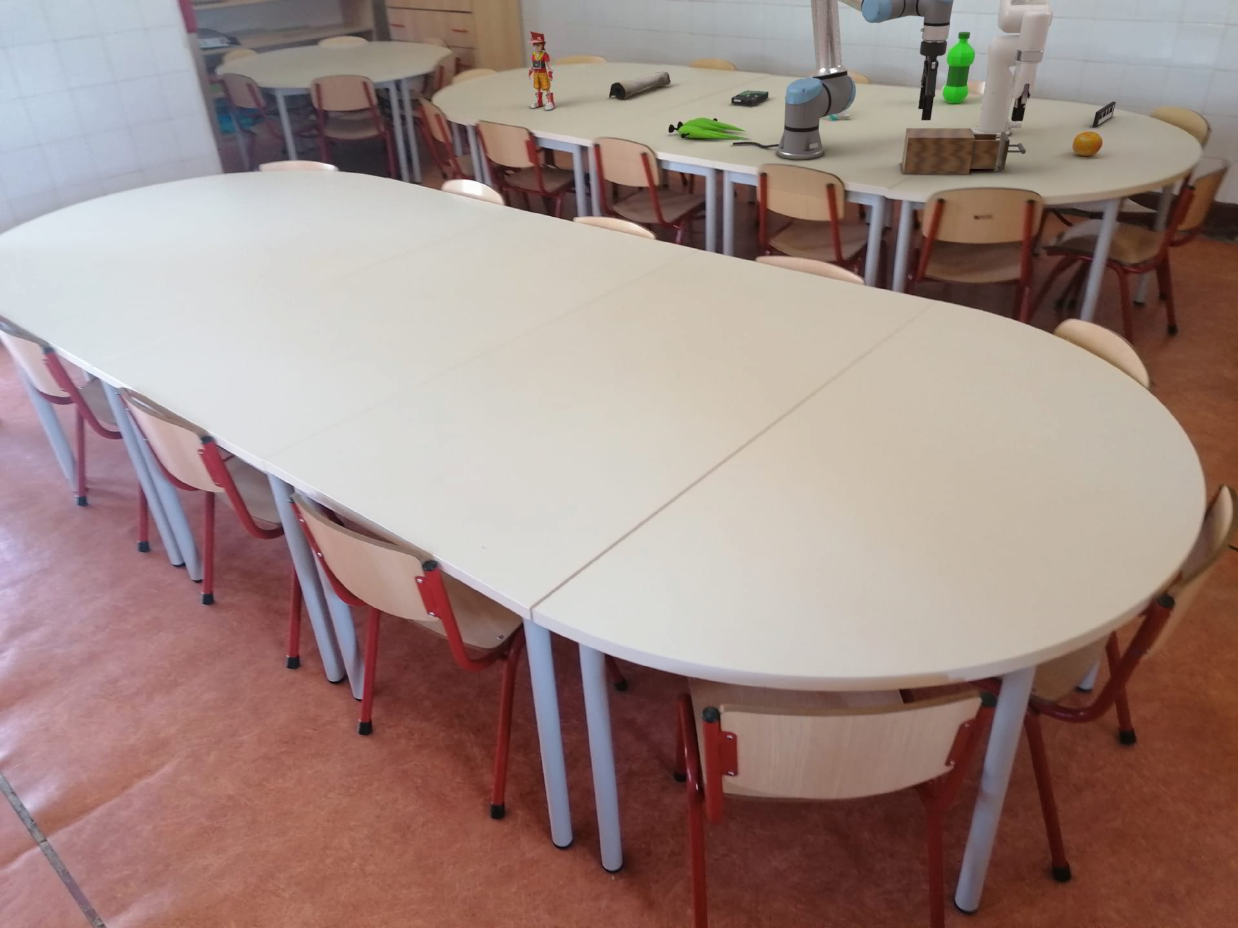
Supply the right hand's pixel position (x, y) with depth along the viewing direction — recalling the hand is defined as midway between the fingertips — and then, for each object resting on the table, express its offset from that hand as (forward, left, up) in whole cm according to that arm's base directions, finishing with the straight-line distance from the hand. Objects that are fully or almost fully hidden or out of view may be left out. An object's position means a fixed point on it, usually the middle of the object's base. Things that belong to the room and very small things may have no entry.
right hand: (1016, 120), depth 275 cm
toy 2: (+98, -41, -15) cm, 107 cm away
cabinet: (+22, -1, -15) cm, 27 cm away
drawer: (+8, 0, -14) cm, 16 cm away
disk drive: (+87, -92, -15) cm, 127 cm away
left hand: (+27, -1, +2) cm, 28 cm away
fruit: (-26, -16, -15) cm, 34 cm away
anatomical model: (+54, -68, -15) cm, 88 cm away
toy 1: (+174, -85, -15) cm, 195 cm away
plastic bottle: (+6, -88, -15) cm, 89 cm away
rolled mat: (+136, -111, -15) cm, 176 cm away
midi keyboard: (-41, -57, -15) cm, 72 cm away
